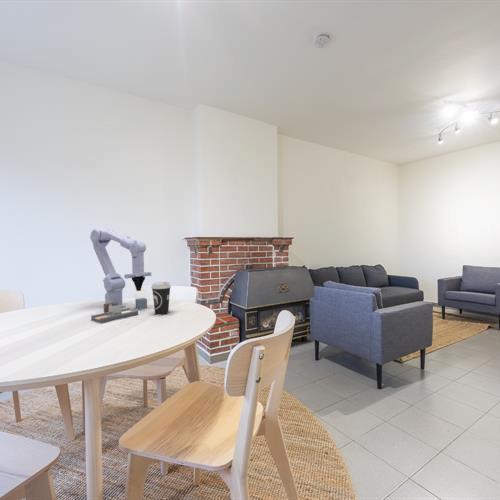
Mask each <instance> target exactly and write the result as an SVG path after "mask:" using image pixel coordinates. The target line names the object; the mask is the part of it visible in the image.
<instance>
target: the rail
mask: <svg viewBox="0 0 500 500" xmlns="http://www.w3.org/2000/svg"><path fill="white" fill-rule="evenodd" d="M138 315H139V309H136V310H131V309H130V307H129V308H128V307H127V308H123V309H122V308H121V314H118V315H113V316H112V315H109V312H107V313H104V312H102V313H98V314H91V316H90V319H91V321H93V322H96V323H99V324H103V323H104V324H105V323H110V322H115V321H117V320H121V319H126V318H130V317H134V316H138Z"/></svg>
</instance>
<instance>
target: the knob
mask: <svg viewBox="0 0 500 500" xmlns="http://www.w3.org/2000/svg"><path fill="white" fill-rule="evenodd" d="M121 309H122V307H121V305H120V304H118V303H113V304H112V305H109V315H112V316H113V315H118V314H121Z"/></svg>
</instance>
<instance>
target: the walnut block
mask: <svg viewBox="0 0 500 500" xmlns="http://www.w3.org/2000/svg"><path fill="white" fill-rule="evenodd" d="M113 303H115V302H110V303H106V304H105V303H103V313H107V312H109V305H112V304H113Z"/></svg>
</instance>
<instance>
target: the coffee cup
mask: <svg viewBox="0 0 500 500" xmlns="http://www.w3.org/2000/svg"><path fill="white" fill-rule="evenodd" d="M150 288H151V289H152V290H151V291H152V297H153V298H152V299H153V307H154V310H153V311H154V314H155V315H157V314H162V315H167V314H169V308H170V307H169V306H170V294H171V288H172V286H171V284H170V282H167V281H165V282H164V281H162V282H161V281H160V282H153V283H152V285H151V287H150Z"/></svg>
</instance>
